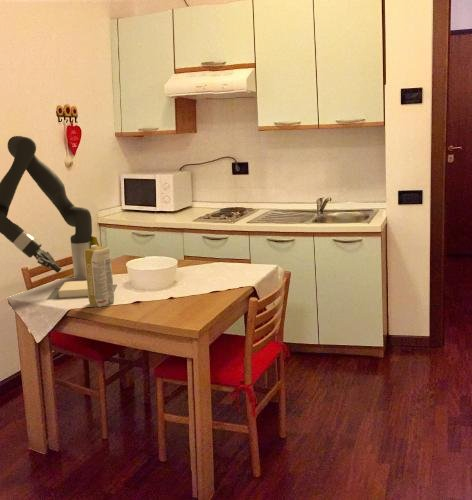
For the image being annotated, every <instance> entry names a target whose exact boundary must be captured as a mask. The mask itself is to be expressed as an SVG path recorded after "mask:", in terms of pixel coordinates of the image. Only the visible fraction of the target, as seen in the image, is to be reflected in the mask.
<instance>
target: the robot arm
mask: <svg viewBox="0 0 472 500" xmlns="http://www.w3.org/2000/svg"><path fill="white" fill-rule="evenodd" d="M7 151H8V152H9V154H10V155H11V156H12V157H13V161H12V164H11V166H10V168H8V169H9V170H8V171H7V172H6V173H5V175H4V176H3V178H2V179H1V181H0V234H1V235H3V236H4V238H6V239H7V240H8V241H9V242H11V243H12V244H13V245H14V246H15V247H16V248H17V249H18V250H20V251H21V252H22V253H23V254H25V256H27V258H30V259H31V258H32V257H34V258H35V260H36V261H37V264H39V265H41V266H44V267H46V268H51V269H52V270H53V271H54V272H55V273H60V271H62V268H61V267H60V266H59V265H58V264H57V263H55V261H56V260H55V259H54V257H53V256H52V254H50V252H49V251H45V250H43V249H42V248H41V247H42V243H41V242H39V241H38V240H37V239H36V238H35V237H34V236H32V235H31V234H30V233H29V232H27V231H25V230H24V229H23V228H22V227H21V226H19V225H18V224H16V223H14V222H13V221H12V220H11V219H9V217H8V215H9V214H8V213H9V211H10V207H11V204H12V202H13V199H14V196H15V194H16V191H17V189H18V187H19V184H20V182H21V180H22V177H23V176H24V174H25V172H27V173H28V175H29V176H30V178H31V179H32V180H33V181H34V183H36V186H38V187H39V189H40V190H41V191H42V192H43V194H44V195H45V197H47V198H48V200H50V203H52V204H53V206H54V207H55V208H56V209H57V211H58V212H59V213H60V215H61V217H62V219H63V220H64V222H65V223H66V224H67V225H68V226H70V227H73V228H75V229H74V230H75V231H74V234H73V235H70V247H71V256H72V257H71V258H72V267H73V276H74V279H75V280H79V281H82V280H87V278H86V267H85V254H84V250H86V249H91V246H92V245H91V236H93V223H92V221H93V220H92V215H91V212H90V210H89V209H88V208H85V207H80V206H79V207H77V206H75V205H74V203H72V201H71V200H70V199H69V198H68V196H67V192H66V188H65V184H64V182H63V181H62V180H61V179H60V177H59V176H58V175H57V173H55V172H54V170H53V169H51V168H50V166H48V165H47V164H45V162H43V161H41V160H40V159H39V157H38V156H37V155H36V151H37V144H36V142H35V141H34V140H33V139H32V138H30V137H28V136H22V135H14V136H11V137H10V138H9V139H8V141H7Z"/></svg>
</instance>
